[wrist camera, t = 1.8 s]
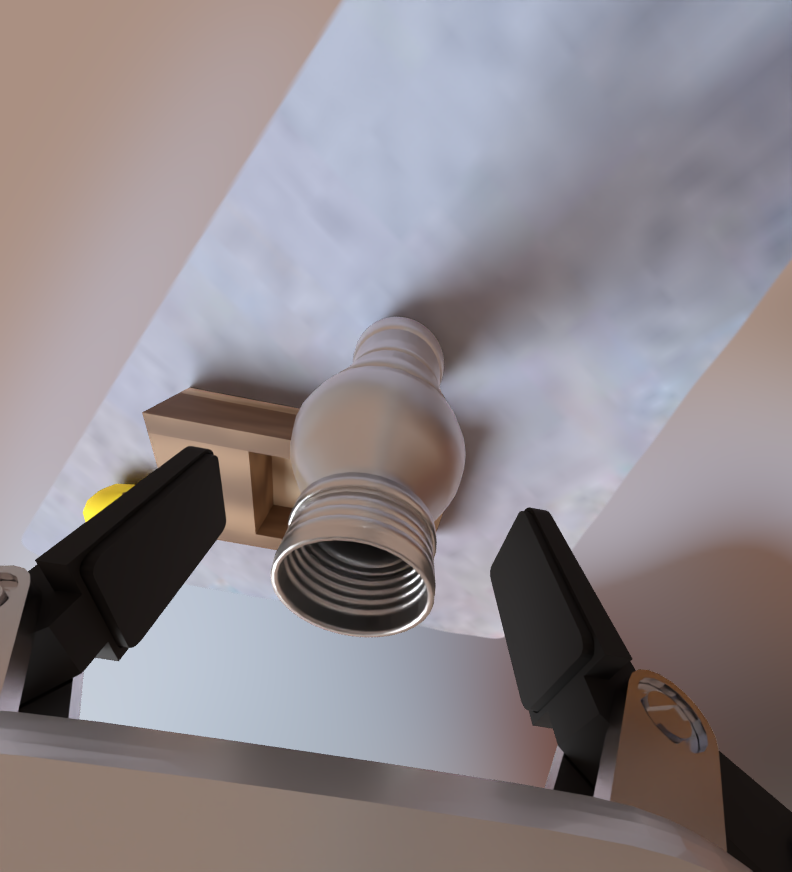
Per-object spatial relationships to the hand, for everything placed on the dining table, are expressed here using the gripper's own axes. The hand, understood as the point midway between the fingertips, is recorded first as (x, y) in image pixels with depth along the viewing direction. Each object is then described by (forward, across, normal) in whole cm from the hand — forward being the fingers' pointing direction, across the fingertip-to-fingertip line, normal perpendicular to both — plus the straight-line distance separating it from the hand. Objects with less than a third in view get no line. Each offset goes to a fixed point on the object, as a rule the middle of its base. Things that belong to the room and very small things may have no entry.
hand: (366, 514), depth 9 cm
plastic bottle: (+17, 0, -1) cm, 17 cm away
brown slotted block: (+17, +6, +12) cm, 22 cm away
